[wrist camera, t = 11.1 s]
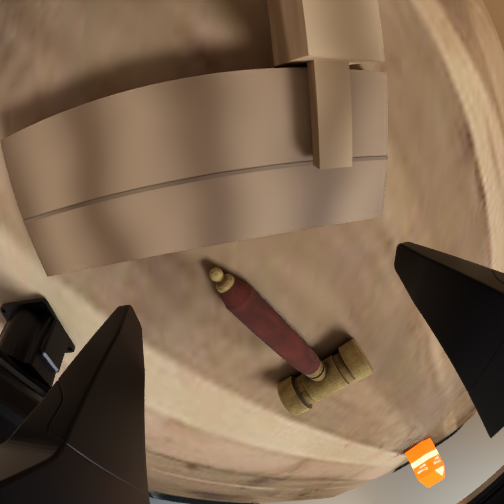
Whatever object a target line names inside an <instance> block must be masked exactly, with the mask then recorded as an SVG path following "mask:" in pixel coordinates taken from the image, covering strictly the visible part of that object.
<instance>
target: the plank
mask: <svg viewBox="0 0 504 504" xmlns="http://www.w3.org/2000/svg"><path fill="white" fill-rule="evenodd" d="M349 70H350V85H351V106H352V167H342V168H330V169H318V168H317V167H315V166H314V165H313V147H312V126H311V108H310V94H309V81H308V69H307V68H267V69H251V70H239V71H230V72H221V73H213V74H206V75H199V76H193V77H187V78H181V79H176V80H171V81H166V82H161V83H157V84H152V85H148V86H144V87H139V88H136V89H132V90H128V91H124V92H121V93H117V94H114V95H110V96H107V97H104V98H101V99H97V100H94V101H91V102H88V103H86V104H83V105H80V106H77V107H74V108H72V109H69V110H66V111H64V112H61V113H59V114H56V115H54V116H51V117H49V118H47V119H44V120H42V121H40V122H37V123H35V124H33V125H31V126H29V127H26V128H24V129H22V130H20V131H18V132H16V133H14V134H12V135H10V136H8V137H6V138H4V139H3V140H1V145H2V150H3V154H4V158H5V162H6V166H7V170H8V174H9V177H10V181H11V184H12V187H13V191H14V194H15V197H16V200H17V203H18V206H19V209H20V212H21V215H22V217H23V220H24V224H25V226H26V228H27V231H28V233H29V236H30V238H31V241H32V243H33V245H34V248H35V250H36V252H37V255H38V257H39V259H40V261H41V264H42V266H43V268H44V270H45V272H46V274H47V276H53V275H58V274H63V273H68V272H73V271H78V270H83V269H88V268H93V267H98V266H103V265H109V264H114V263H119V262H124V261H130V260H135V259H140V258H146V257H151V256H156V255H162V254H167V253H173V252H178V251H184V250H189V249H195V248H200V247H206V246H211V245H217V244H223V243H228V242H234V241H240V240H245V239H251V238H257V237H263V236H268V235H274V234H280V233H286V232H292V231H298V230H304V229H310V228H316V227H322V226H328V225H334V224H340V223H346V222H353V221H359V220H365V219H371V218H378V217H383V208H384V197H385V184H386V168H387V144H388V98H387V75H386V73H383V72H375V71H365V70H354V69H349Z"/></svg>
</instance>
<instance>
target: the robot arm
mask: <svg viewBox="0 0 504 504" xmlns="http://www.w3.org/2000/svg"><path fill="white" fill-rule="evenodd" d="M394 267H395V270H396V272H397V274H398V276H399V277H400V279H401V281H402V283H403V284H404V286H405V288H406V290H407V291H408V293H409V295H410V297H411V299H412V300H413V302H414V304H415V305H416V307H417V308H418V310H419V311H420V313H421V314H422V316H423V317H424V319H425V321H426V322H427V324H428V325H429V327H430V328H431V330H432V331H433V333H434V335H435V336H436V338H437V339H438V341H439V343H440V344H441V346H442V348H443V349H444V351H445V353H446V354H447V356H448V358H449V359H450V361H451V363H452V364H453V366H454V368H455V370H456V372H457V373H458V375H459V377H460V379H461V380H462V382H463V384H464V386H465V388H466V390H467V392H468V394H469V396H470V398H471V400H472V402H473V404H474V405H475V407H476V409H477V412H478V414H479V416H480V418H481V420H482V422H483V424H484V426H485V428H486V430H487V432H488V435H489V436H490V438H492V437H493V436H494V435H495V434H497V433H498V432H499V431H500V430H501V429H502V428H503V427H504V273H502V272H499V271H496V270H493V269H490V268H487V267H485V266H482V265H479V264H476V263H473V262H470V261H467V260H464V259H461V258H458V257H455V256H452V255H449V254H446V253H443V252H440V251H437V250H434V249H430V248H427V247H424V246H421V245H418V244H414V243H411V242H404V243H400V244H398V246H397V249H396V256H395V262H394ZM43 304H44V305H43ZM0 310H1V312H2V314H3V316H4V317H5V319H6V320H7V323H6V325H5V326H4V328H3V330H2V332H1V334H0V504H150V502H149V495H148V483H147V470H146V452H145V421H144V389H145V368H144V355H143V341H142V328H141V325H140V322H139V320H138V318H137V316H136V314H135V312H134V310H133V308H132V306H131V305H124V306H119V307H118V308H117V309H116V310H115V311H114V312H113V313H112V314H111V316H110V317H109V318H108V319H107V320H106V321H105V323H104V324H103V325H102V326H101V327H100V328H99V330H98V331H97V332H96V333H95V334H94V335H93V337H92V338H91V339H90V340H89V341H88V343H87V344H86V345H85V346H84V348H83V349H82V350H81V351H80V352H79V354H78V355H77V356H76V357H75V359H74V360H73V361H72V362H71V364H70V365H69V366H68V367H67V369H66V370H65V371H64V372H63V374H62V375H61V376H60V377H59V379H58V381H56V383H55V384H54V385H53V381H54V378H55V374H56V372H59V370H60V367H61V363H62V360H63V357H64V354H65V353H70V352H74V350H75V346H74V344H73V343H72V341H71V340H70V338H69V336H68V335H67V333H66V332H65V330H64V329H63V327H62V325H61V324H60V322H59V320H58V319H57V317H56V315H55V314H54V312H53V310H52V309H51V307H50V305H49V303H48V302H47V300H45V299H43V298H40V299H34V300H28V301H21V302H15V303H9V304H3V305H2V306H1V308H0ZM52 385H53V386H52ZM457 504H504V465H503V466H502V467H501V468H500V469H499V470H498V471H497V472H496V473H495V474H494V475H493V476H491V477H490V478H489V479H488V480H487V481H486V482H485V483H483V484H482V485H481V486H480V487H478V488H477V489H476V490H475V491H473V492H472V493H471V494H470V495H468V496H467V497H466V498H464V499H463V500H462V501H460V502H459V503H457Z"/></svg>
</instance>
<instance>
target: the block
mask: <svg viewBox="0 0 504 504" xmlns="http://www.w3.org/2000/svg"><path fill="white" fill-rule="evenodd" d="M266 1H267V8H268V16H269V25H270V33H271V42H272V51H273V61H274V66H307V69H308V81H309V94H310V108H311V126H312V147H313V165H314V166H315V167H317V168H318V169H330V168H342V167H352V106H351V85H350V70H349V65H351V64H361V63H374V62H385V60H384V48H383V39H382V30H381V22H380V15H379V8H378V2H377V0H266Z"/></svg>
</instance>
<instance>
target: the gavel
mask: <svg viewBox="0 0 504 504" xmlns="http://www.w3.org/2000/svg"><path fill="white" fill-rule="evenodd" d="M209 276H210V278H211V279H212V280H213V281H216V290H217V291H218V292H219V293H220V295H221V297H222V300H223V302H224V304H225V306H226V308H227V309H228V310H229V311H230V312H231V313H233V314H234V315H235V316H236V317H237V318H238V319H239V320H240V321H241V322H242V323H244V324H245V325H246V326H247V327H248V328H249V329H250V330H251V331H252V332H253V333H255V334H256V335H257V336H258V337H259V338H260V339H261V340H262V341H264V342H265V343H266V344H267V345H268V346H269V347H270V348H272V349H273V350H274V351H275V352H276V353H277V354H279V355H280V356H281V357H282V358H283V359H284V360H286V361H287V362H288V363H289V364H290V365H291V366H293V367H294V368H295V369H296V370H297V371H299V372H302V373H301V375H300V376H298V377H294V376H290V377H288V378H287V379H285V380H283V381H281V382H279V383H278V394H279V397H280V400H281V402H282V403H283V405H284V406H285V408H286V409H287V410H288V411H289V412H290V413H291V414H293V415H296V416H297V415H299V414H301V413H303V412H305V411H307V410H309V409H311V408H312V403H314V402H319V401H321V400H323V399H324V398H326V397H328V396H330V395H332V394H333V393H335V392H337V391H339V390H340V389H342V388H344V387H345V386H347V385H349V382H351V381H353V380H354V379H356V380H357V381H360V380H362V379H364V378H365V377H367V376H368V375H370V374H372V373H373V368H372V366H371V364H370V362H369V361H368V359H367V357H366V356H365V354H364V352H363V351H362V349H361V348H360V346H359V345H358V343H357V342H356V341H355V340H354V339H351V340H349V341H348V342H346V343H345V344H343V345H342V346H340V347H339V348H338V349H339V352H338V353H337V354H335V355H331V356H329V357H328V358H326V359H324V360H323V361H320V360H319V358H318V357H317V355H316V353H315V352H314V351H313V350H312V349H311V348H310V347H309V346H308V345H307V344H306V343H305V342H304V341H303V340H302V339H301V338H300V337H299V336H298V335H297V333H296V332H295V331H294V330H293V329H292V328H291V327H290V326H289V325H288V324H287V323H286V322H285V321H284V320H283V319H282V318H281V317H280V316H279V315H278V314H277V313H276V312H275V311H274V310H273V309H272V308H271V307H270V306H269V305H268V304H267V302H266V301H265V300H264V299H263V298H262V297H261V296H260V295H259V294H258V293H257V292H256V291H255V290H254V289H253V288H252V287H251V286H250V285H249V284H247V283H245V282H243V281H241V280H238V279H236V278H234V277H233V276H232V275H231V274H225V275H224V274H223V272H222V270H221V269H220V268H217V267H214V268H213V269H211V271H210V272H209Z"/></svg>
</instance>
